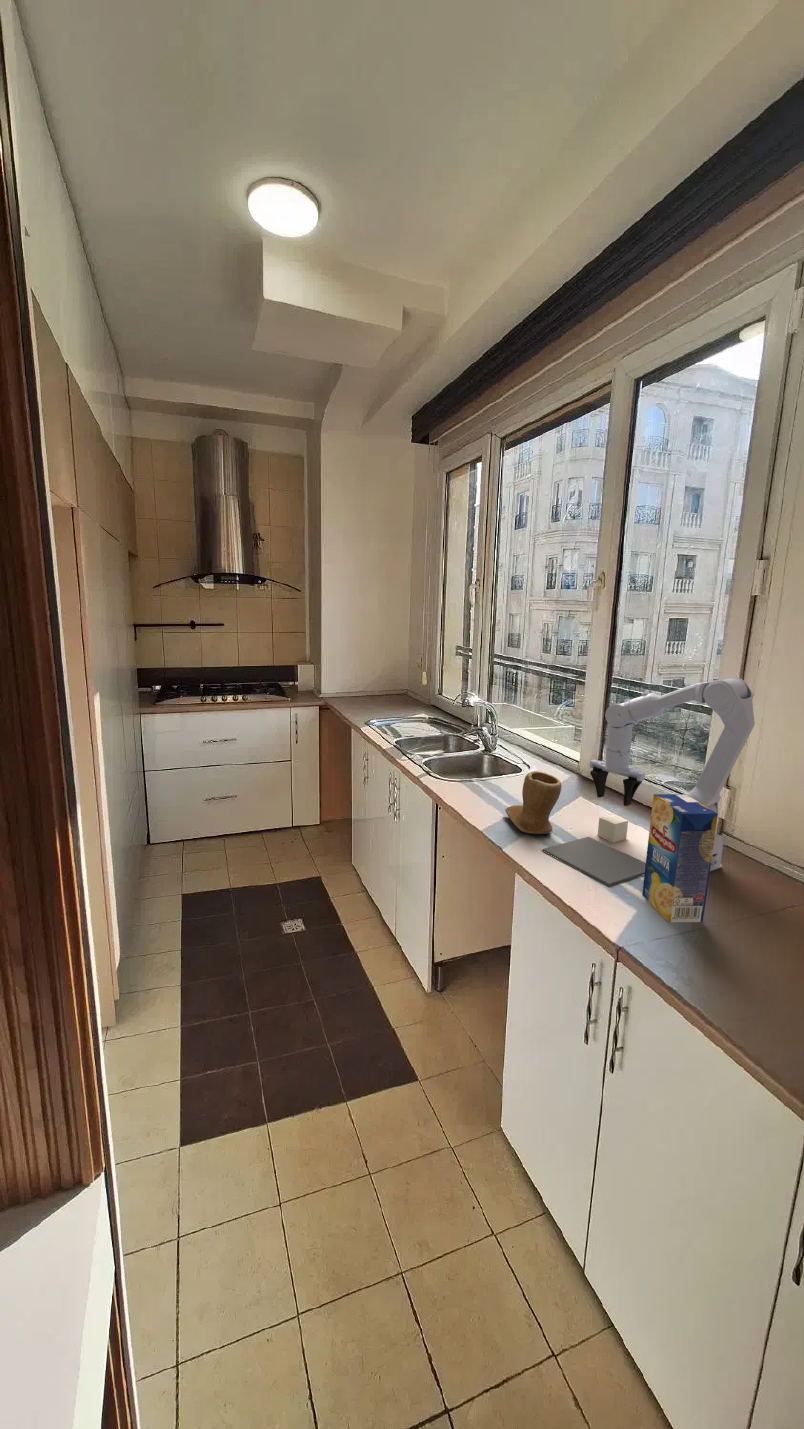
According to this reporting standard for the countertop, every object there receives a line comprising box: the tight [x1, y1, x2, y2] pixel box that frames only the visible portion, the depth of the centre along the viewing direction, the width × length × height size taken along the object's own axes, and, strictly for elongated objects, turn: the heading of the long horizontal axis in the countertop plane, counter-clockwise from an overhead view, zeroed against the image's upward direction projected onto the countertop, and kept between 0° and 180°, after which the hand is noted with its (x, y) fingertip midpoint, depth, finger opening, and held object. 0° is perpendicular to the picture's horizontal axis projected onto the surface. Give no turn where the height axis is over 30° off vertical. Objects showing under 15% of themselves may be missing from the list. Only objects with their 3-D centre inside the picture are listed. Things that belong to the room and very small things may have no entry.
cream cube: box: [597, 813, 629, 843], centre depth 152 cm, size 5×5×5 cm
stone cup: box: [504, 770, 562, 835], centre depth 156 cm, size 15×12×15 cm
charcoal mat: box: [542, 836, 646, 887], centre depth 138 cm, size 20×16×1 cm
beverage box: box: [641, 793, 719, 924], centre depth 116 cm, size 7×11×22 cm, turn 4°
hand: (613, 800), depth 152 cm, fingers open, 7 cm apart
